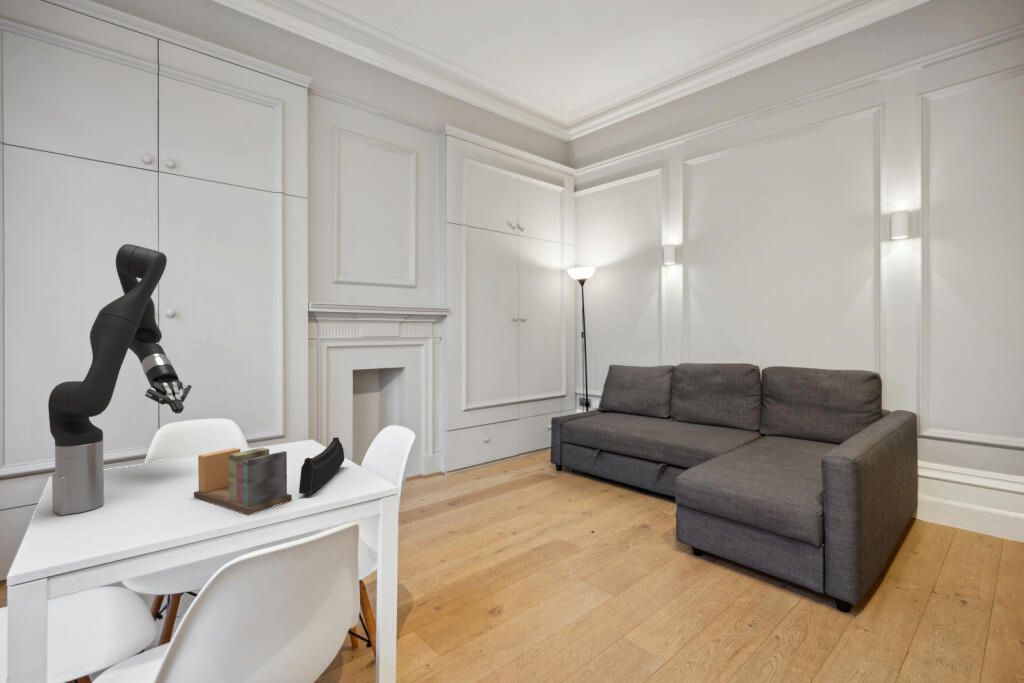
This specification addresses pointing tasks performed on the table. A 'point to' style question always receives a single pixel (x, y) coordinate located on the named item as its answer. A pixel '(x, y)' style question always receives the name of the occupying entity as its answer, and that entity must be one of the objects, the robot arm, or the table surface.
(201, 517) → the table surface
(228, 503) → the book row
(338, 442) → the magazine
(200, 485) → the loose bookend
